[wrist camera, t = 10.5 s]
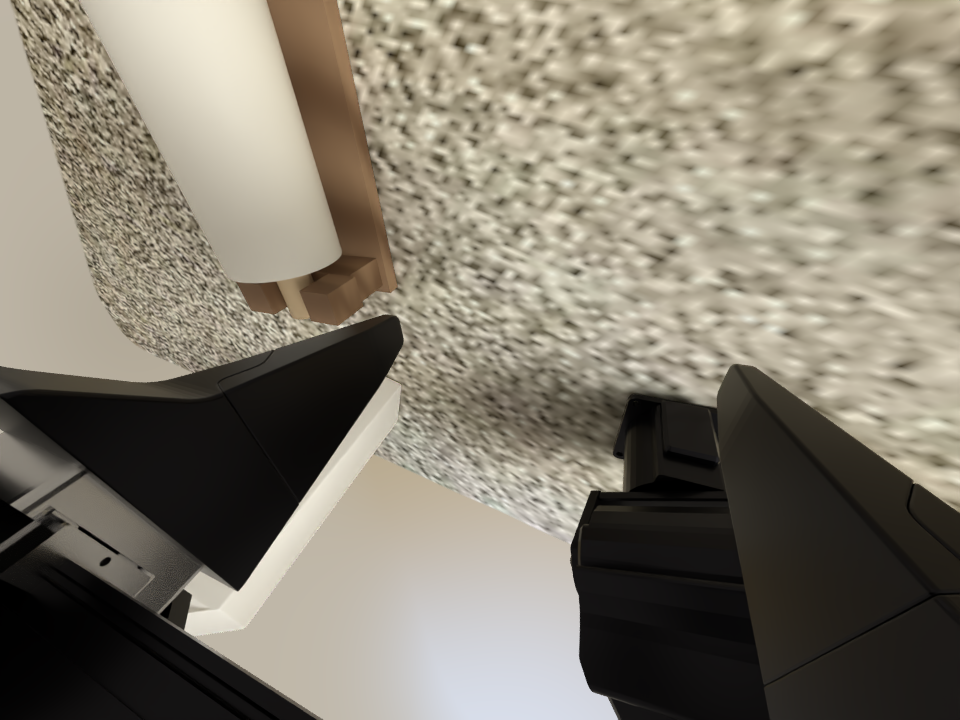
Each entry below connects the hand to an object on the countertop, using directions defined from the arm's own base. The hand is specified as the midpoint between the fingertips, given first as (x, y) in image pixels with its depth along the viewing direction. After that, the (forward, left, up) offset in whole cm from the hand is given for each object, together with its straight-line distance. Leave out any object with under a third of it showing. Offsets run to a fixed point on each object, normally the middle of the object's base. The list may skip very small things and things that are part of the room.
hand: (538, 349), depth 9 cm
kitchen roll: (+6, +17, -7) cm, 19 cm away
